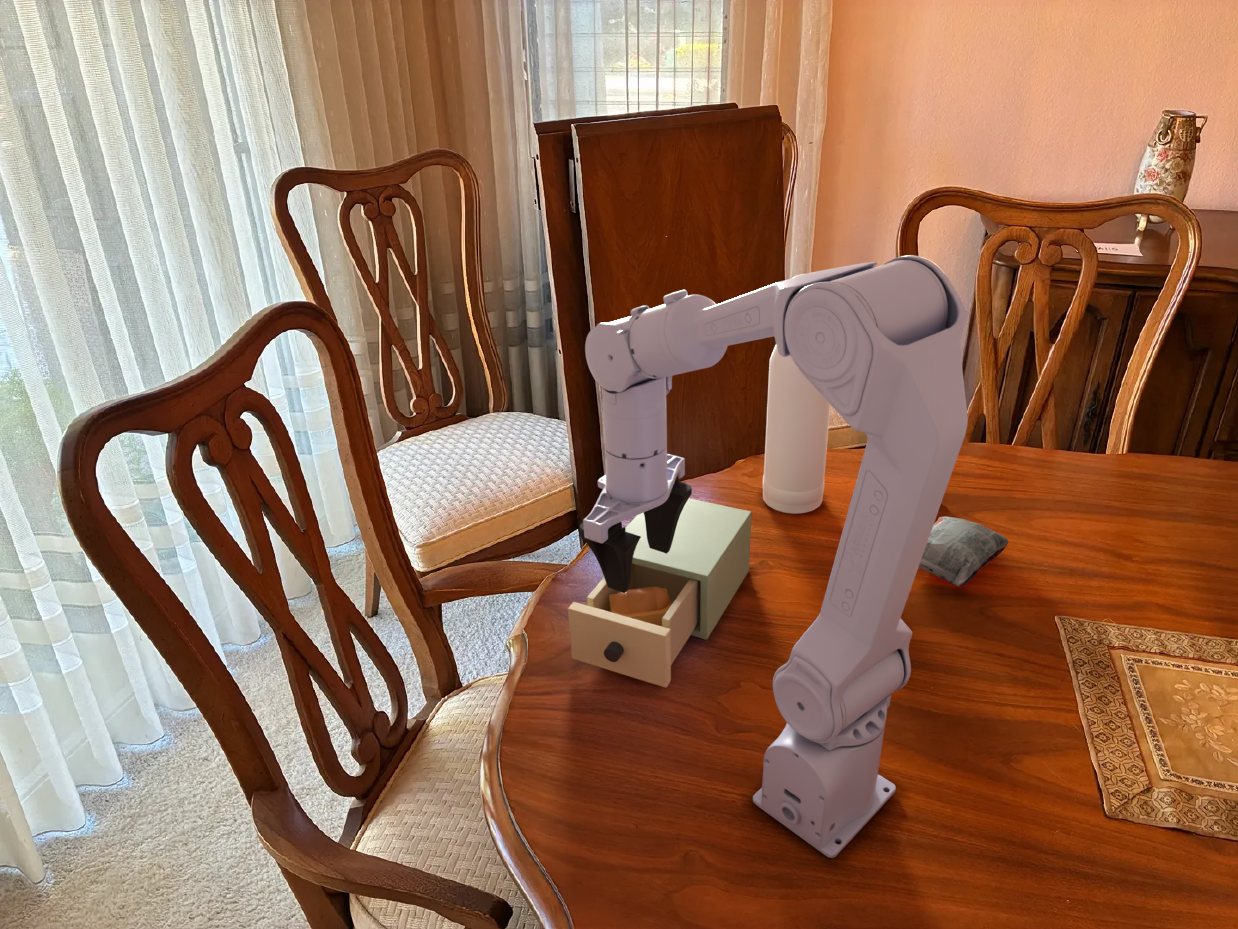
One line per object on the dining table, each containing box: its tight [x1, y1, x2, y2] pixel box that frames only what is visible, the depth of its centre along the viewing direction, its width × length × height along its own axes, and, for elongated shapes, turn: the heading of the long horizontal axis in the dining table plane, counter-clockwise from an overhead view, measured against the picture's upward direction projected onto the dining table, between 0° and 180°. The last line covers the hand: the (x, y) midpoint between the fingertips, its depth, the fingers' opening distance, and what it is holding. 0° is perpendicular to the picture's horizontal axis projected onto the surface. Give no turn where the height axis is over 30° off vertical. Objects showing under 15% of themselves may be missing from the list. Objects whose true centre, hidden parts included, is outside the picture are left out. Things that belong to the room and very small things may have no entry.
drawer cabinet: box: [625, 497, 752, 640], centre depth 95 cm, size 14×12×8 cm
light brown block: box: [609, 587, 672, 627], centre depth 87 cm, size 6×4×5 cm, turn 98°
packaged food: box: [918, 516, 1009, 588], centre depth 98 cm, size 9×12×5 cm
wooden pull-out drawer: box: [567, 564, 701, 689], centre depth 87 cm, size 14×10×6 cm
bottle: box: [762, 273, 832, 515], centre depth 107 cm, size 8×8×30 cm
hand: (639, 568), depth 84 cm, fingers open, 7 cm apart
